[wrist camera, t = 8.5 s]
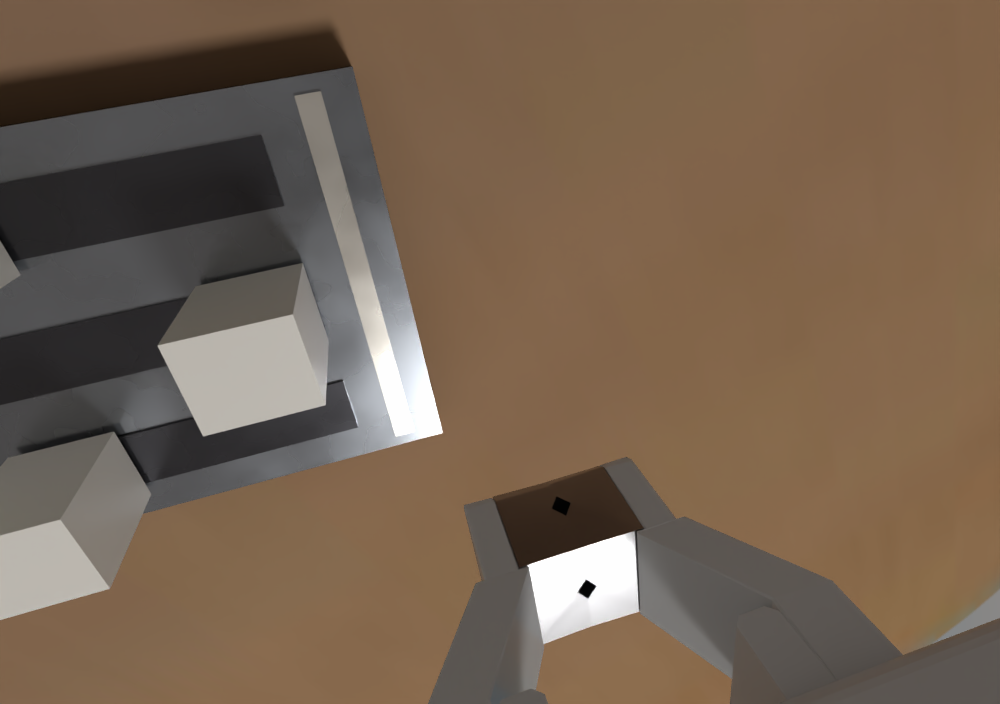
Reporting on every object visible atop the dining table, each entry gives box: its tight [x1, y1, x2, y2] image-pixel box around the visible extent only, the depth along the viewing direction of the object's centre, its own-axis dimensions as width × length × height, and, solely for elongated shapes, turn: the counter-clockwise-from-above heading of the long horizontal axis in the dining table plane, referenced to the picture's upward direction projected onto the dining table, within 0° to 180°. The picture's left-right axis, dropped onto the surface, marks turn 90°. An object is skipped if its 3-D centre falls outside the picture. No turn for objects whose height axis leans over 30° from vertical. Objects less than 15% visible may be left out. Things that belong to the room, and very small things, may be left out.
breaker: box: [0, 432, 151, 620], centre depth 19 cm, size 4×3×4 cm
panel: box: [0, 66, 442, 514], centre depth 20 cm, size 18×14×2 cm
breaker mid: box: [157, 263, 329, 436], centre depth 18 cm, size 4×3×4 cm
